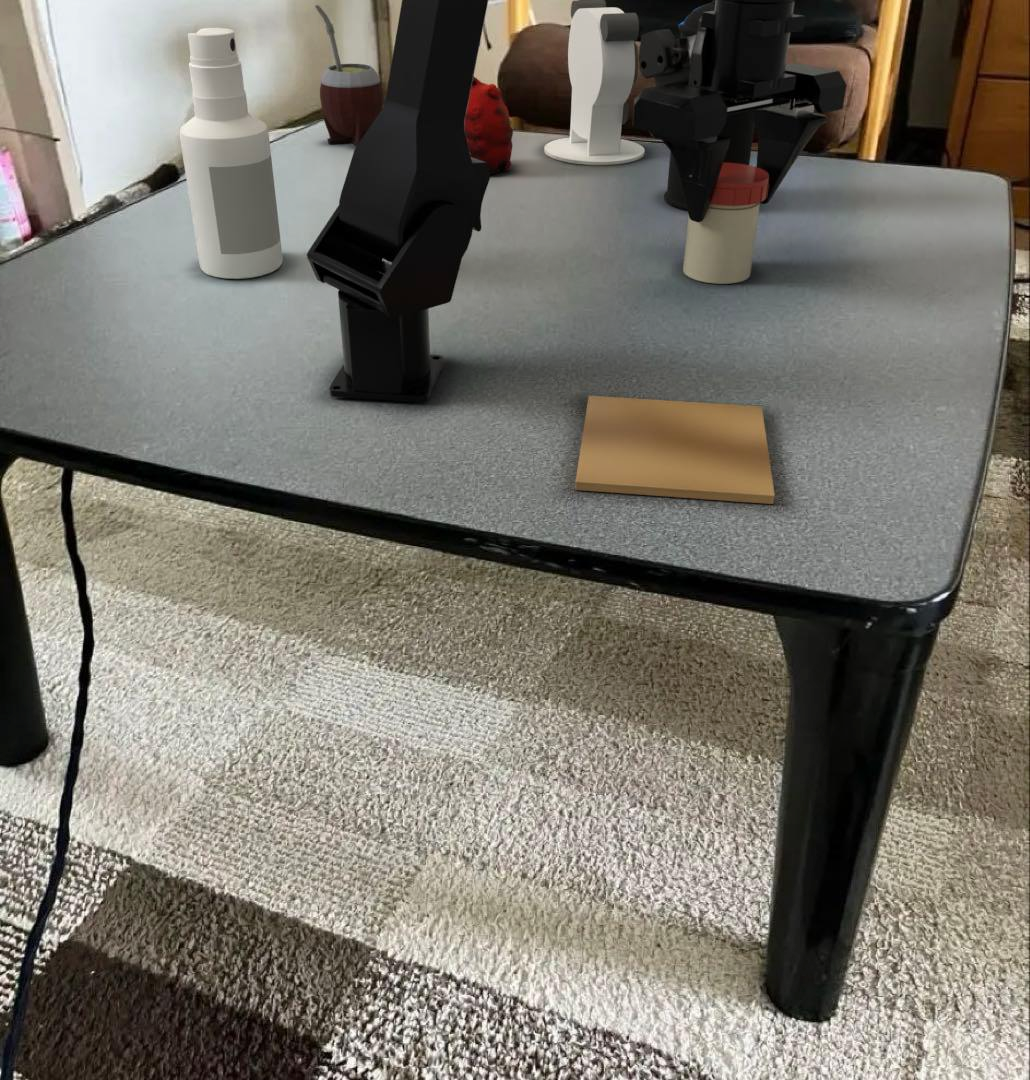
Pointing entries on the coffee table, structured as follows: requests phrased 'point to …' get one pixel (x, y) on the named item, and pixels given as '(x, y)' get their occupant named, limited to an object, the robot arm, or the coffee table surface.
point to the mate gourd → (348, 96)
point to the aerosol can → (735, 128)
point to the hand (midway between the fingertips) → (729, 211)
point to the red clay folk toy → (488, 126)
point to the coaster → (675, 450)
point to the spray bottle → (228, 166)
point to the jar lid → (740, 185)
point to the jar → (721, 244)
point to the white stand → (599, 85)
